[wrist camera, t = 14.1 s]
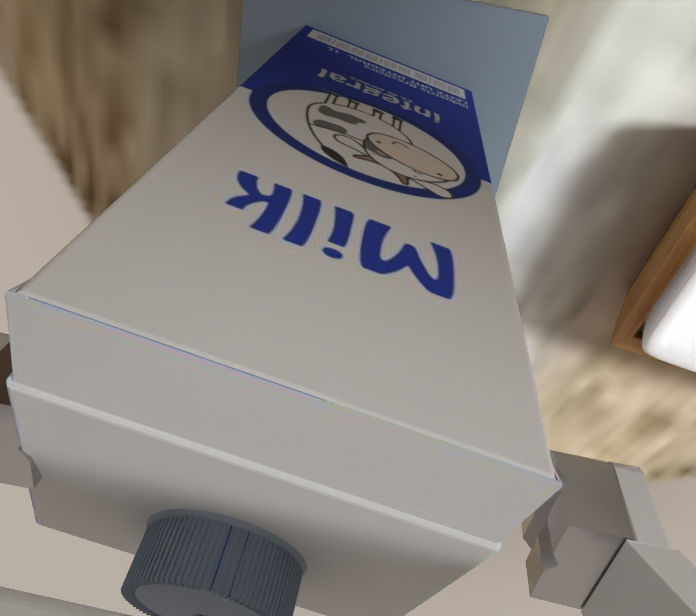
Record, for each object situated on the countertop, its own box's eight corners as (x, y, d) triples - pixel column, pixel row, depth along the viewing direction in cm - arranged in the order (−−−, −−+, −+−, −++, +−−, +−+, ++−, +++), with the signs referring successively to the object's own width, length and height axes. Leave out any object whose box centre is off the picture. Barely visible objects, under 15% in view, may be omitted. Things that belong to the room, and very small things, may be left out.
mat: (547, 15, 23) (549, 17, 23) (468, 276, 29) (469, 281, 29) (248, -42, 23) (245, -41, 23) (230, 229, 29) (227, 234, 29)
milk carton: (476, 93, 25) (576, 500, 8) (409, 241, 28) (375, 743, 11) (300, 22, 24) (-16, 295, 7) (254, 183, 27) (-31, 622, 11)
